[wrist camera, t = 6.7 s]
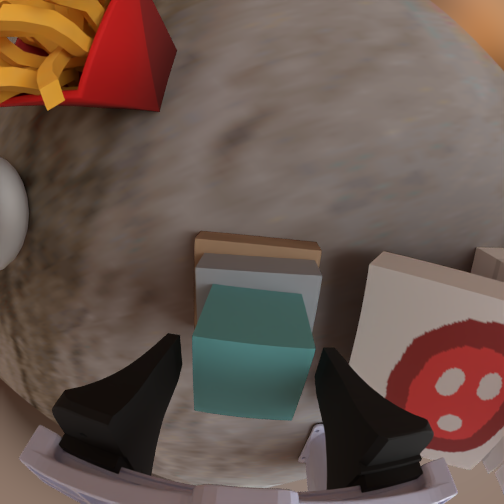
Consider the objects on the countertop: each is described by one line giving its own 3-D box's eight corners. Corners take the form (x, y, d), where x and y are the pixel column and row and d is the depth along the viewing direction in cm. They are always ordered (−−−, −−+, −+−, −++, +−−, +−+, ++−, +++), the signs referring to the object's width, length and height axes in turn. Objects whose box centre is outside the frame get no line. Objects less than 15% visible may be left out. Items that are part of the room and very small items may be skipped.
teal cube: (286, 361, 17) (291, 420, 12) (209, 352, 17) (194, 410, 12) (301, 294, 15) (315, 349, 11) (212, 283, 15) (192, 335, 11)
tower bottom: (297, 332, 22) (300, 351, 20) (201, 323, 22) (194, 341, 20) (314, 239, 19) (321, 250, 17) (203, 228, 19) (194, 238, 17)
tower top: (300, 347, 20) (303, 370, 17) (206, 341, 20) (199, 363, 17) (314, 260, 17) (322, 275, 15) (204, 252, 17) (195, 267, 15)
